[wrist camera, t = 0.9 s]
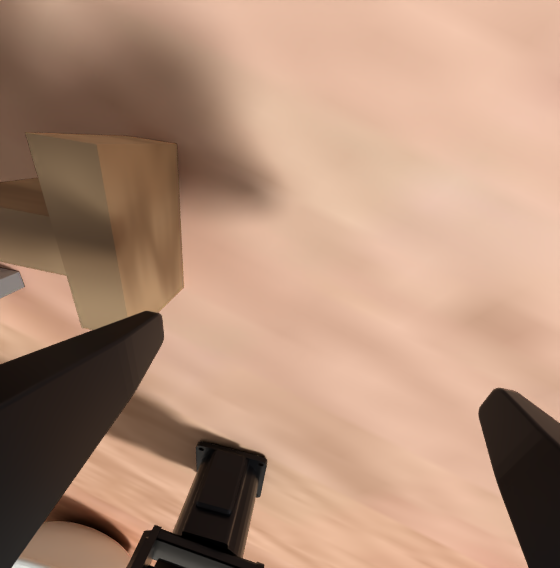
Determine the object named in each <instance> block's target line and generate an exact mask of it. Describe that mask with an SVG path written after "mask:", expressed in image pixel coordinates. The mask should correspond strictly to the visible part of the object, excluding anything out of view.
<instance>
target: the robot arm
mask: <svg viewBox="0 0 560 568" xmlns="http://www.w3.org/2000/svg"><path fill="white" fill-rule="evenodd" d="M163 340H164V330H163V320H162V316H161V314H159V313H156V312H152V311H143V312H140V313H138V314H135V315H132V316H130V317H127V318H124V319H122V320H119V321H116V322H114V323H111V324H108V325H105V326H103V327H100V328H97V329H95V330H92V331H89V332H87V333H84V334H81V335H78V336H76V337H73V338H70V339H68V340H65V341H62V342H60V343H57V344H54V345H51V346H49V347H46V348H43V349H41V350H38V351H35V352H33V353H30V354H27V355H24V356H22V357H19V358H16V359H14V360H11V361H8V362H6V363H3V364H0V568H12V566H13V565H14V564H15V562H16V561H17V559H18V558H19V557H20V555H21V554H22V552H23V551H24V549H25V548H26V547H27V545H28V544H29V542H30V541H31V539H32V538H33V537H34V535H35V534H36V532H37V531H38V530H39V528H40V527H41V525H42V524H43V522H44V521H45V520H46V518H47V517H48V515H49V514H50V512H51V511H52V510H53V508H54V507H55V505H56V504H57V502H58V501H59V500H60V498H61V497H62V495H63V494H64V493H65V491H66V490H67V488H68V487H69V485H70V484H71V483H72V481H73V480H74V478H75V477H76V475H77V474H78V473H79V471H80V470H81V468H82V467H83V465H84V464H85V463H86V461H87V460H88V458H89V457H90V456H91V454H92V453H93V451H94V450H95V448H96V447H97V446H98V444H99V443H100V441H101V440H102V438H103V437H104V436H105V434H106V433H107V431H108V430H109V429H110V427H111V426H112V424H113V423H114V421H115V420H116V419H117V417H118V416H119V414H120V413H121V411H122V410H123V409H124V407H125V406H126V404H127V403H128V401H129V400H130V399H131V397H132V396H133V394H134V393H135V391H136V389H137V388H138V386H139V384H140V383H141V381H142V379H143V377H144V375H145V374H146V372H147V370H148V368H149V367H150V365H151V363H152V361H153V359H154V358H155V356H156V354H157V352H158V350H159V349H160V347H161V345H162V343H163ZM478 414H479V420H480V424H481V427H482V431H483V435H484V438H485V442H486V446H487V449H488V453H489V457H490V460H491V464H492V467H493V471H494V474H495V478H496V481H497V484H498V487H499V490H500V492H501V495H502V498H503V501H504V503H505V506H506V509H507V511H508V514H509V517H510V519H511V522H512V525H513V527H514V530H515V533H516V535H517V538H518V541H519V543H520V546H521V549H522V551H523V554H524V557H525V559H526V562H527V565H528V567H529V568H560V423H559V422H557V421H556V420H555V419H553V418H552V417H551V416H549V415H548V414H547V413H545V412H544V411H542V410H541V409H540V408H538V407H537V406H536V405H534V404H533V403H532V402H530V401H529V400H528V399H526V398H525V397H523V396H522V395H521V394H519V393H518V392H516V391H513V390H508V389H504V388H496V389H494V390H493V391H492V392H491V393H490V395H489V396H488V397H487V398H486V400H485V401H484V402H483V404H482V405H481V406H480V408H479V413H478ZM196 463H197V474H196V476H195V478H194V481H193V483H192V486H191V488H190V491H189V493H188V496H187V498H186V501H185V503H184V506H183V508H182V511H181V513H180V515H179V518H178V520H177V523H176V525H175V528H174V530H173V533H171V532H169V531H166V530H163V529H161V528H162V527H160V526H157V525H154V527H153V529H152V530H150V531H144V533H143V535H142V537H141V539H140V541H139V543H138V545H137V547H136V549H135V552H134V554H133V556H132V558H131V559H130V561H129V563H128V565H127V567H126V568H264V564H262V563H259V562H257V563H254V562H252V561H249V560H246V559H243V554H244V549H245V545H246V540H247V535H248V531H249V526H250V521H251V516H252V512H253V507H254V502H255V498H256V497H260V495H261V490H262V486H263V481H264V476H265V471H266V466H267V459H266V458H264V457H261V456H257V455H253V454H249V453H245V452H241V451H237V450H234V449H230V448H226V447H222V446H218V445H214V444H210V443H206V442H202V441H200V442H198V444H197V446H196ZM152 559H154V560H156V561H157V562H156V564H155V566H154V567H153V566H150V564H151V561H152Z"/></svg>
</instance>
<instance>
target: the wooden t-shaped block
mask: <svg viewBox="0 0 560 568" xmlns="http://www.w3.org/2000/svg"><path fill="white" fill-rule="evenodd" d="M25 134H26V138H27V141H28V145H29V148H30V152H31V155H32V158H33V162H34V165H35V169H36V172H37V176H38V178H32V179H24V180H15V181H7V182H0V262H4V263H9V264H13V265H18V266H23V267H27V268H32V269H37V270H41V271H46V272H51V273H56V274H60V275H65V276H67V279H68V282H69V286H70V289H71V292H72V296H73V299H74V303H75V306H76V310H77V313H78V317H79V320H80V323H81V327H82V328H86V329H90V330H95V329H97V328H100V327H103V326H105V325H108V324H111V323H114V322H116V321H119V320H122V319H124V318H127V317H130V316H132V315H135V314H138V313H140V312H143V311H152V312H156V313H158V312H159V311H160V310H161V309H162V308H163V307H165V306H166V305H167V304H168V303H169V302H170V301H171V300H172V299H173V298H174V297H175V296H176V295H177V294H178V293H179V292H180V291H181V290H182V289H183V288H184V281H183V260H182V240H181V219H180V199H179V178H178V158H177V144H175V143H169V142H163V141H157V140H151V139H145V138H138V137H132V136H119V135H89V134H59V133H29V132H25Z"/></svg>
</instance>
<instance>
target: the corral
mask: <svg viewBox="0 0 560 568" xmlns="http://www.w3.org/2000/svg"><path fill="white" fill-rule="evenodd" d="M23 287H25V286H24V284H23V281H22V279H21V276H20V273H19V272H17V271H13V270H8V269H3V268H0V298H2V297H4V296H6V295H9V294H11V293H13V292H15V291H17V290H19V289H21V288H23Z"/></svg>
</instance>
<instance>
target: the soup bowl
mask: <svg viewBox="0 0 560 568" xmlns="http://www.w3.org/2000/svg"><path fill="white" fill-rule="evenodd" d="M130 559H131V557H130V555H129V554H128V552H127V551H126V550H125V549H124V548H123V547H122V546H121V545H120V544H119V543H118V542H116V541H115V540H114V539H112V538H111V537H109V536H107V535H106V534H104V533H102V532H100V531H98V530H96V529H93V528H91V527H88V526H85V525H81V524H78V523H73V522H66V521H51V522H45V523H43V524H42V525H41V527H40V528H39V530H38V531H37V532H36V534H35V535H34V537H33V538H32V539H31V541H30V542H29V544H28V545H27V547H26V548H25V549H24V551H23V552H22V554H21V555H20V557H19V558H18V559H17V561H16V562H15V564H14V565H13V566H12V568H126V567H127V565H128V563H129V561H130Z"/></svg>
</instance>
